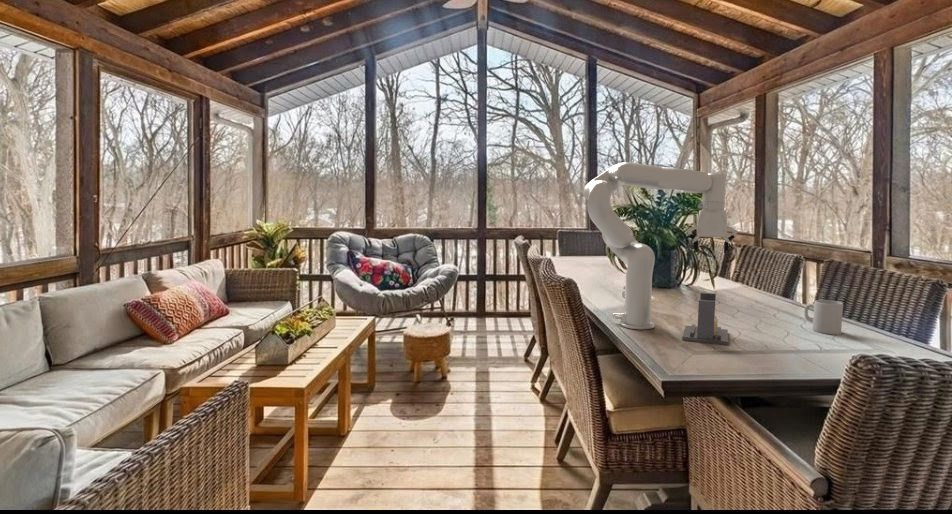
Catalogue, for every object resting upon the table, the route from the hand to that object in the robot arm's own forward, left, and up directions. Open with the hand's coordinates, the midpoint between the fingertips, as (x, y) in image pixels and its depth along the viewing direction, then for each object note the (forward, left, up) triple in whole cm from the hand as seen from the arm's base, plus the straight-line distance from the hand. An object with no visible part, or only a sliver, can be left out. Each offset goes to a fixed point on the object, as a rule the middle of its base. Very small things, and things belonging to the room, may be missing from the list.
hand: (710, 252), depth 187 cm
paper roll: (0, -17, -27) cm, 32 cm away
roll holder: (0, -17, -28) cm, 33 cm away
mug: (+38, +10, -28) cm, 49 cm away
